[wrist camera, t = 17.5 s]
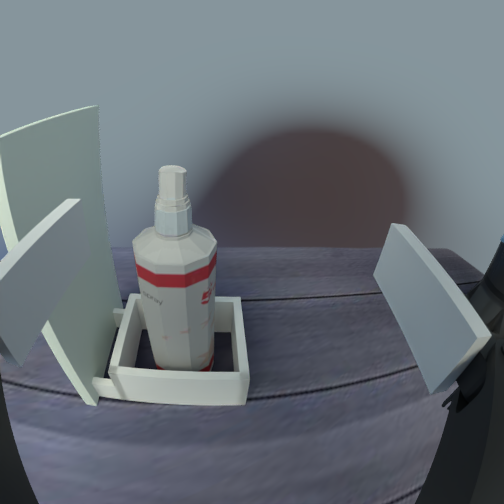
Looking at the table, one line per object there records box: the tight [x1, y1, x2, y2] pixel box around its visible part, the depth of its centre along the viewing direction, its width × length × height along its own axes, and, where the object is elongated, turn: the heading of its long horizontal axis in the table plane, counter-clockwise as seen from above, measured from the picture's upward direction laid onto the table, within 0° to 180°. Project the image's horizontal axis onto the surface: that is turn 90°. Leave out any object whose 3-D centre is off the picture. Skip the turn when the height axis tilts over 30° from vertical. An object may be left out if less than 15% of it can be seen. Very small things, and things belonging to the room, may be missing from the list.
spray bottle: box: [132, 165, 217, 372], centre depth 29 cm, size 8×8×25 cm
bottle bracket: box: [0, 105, 250, 406], centre depth 28 cm, size 20×18×30 cm
